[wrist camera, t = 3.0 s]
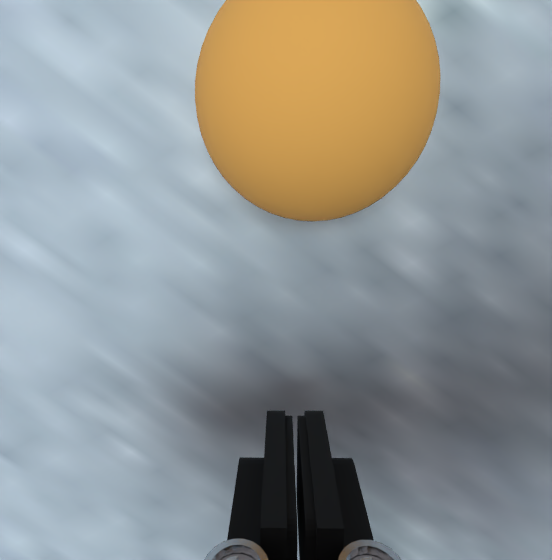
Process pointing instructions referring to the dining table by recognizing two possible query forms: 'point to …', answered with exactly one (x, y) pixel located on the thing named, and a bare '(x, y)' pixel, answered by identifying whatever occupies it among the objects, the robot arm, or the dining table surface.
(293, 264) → the dining table surface
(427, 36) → the ball
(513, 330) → the dining table surface
